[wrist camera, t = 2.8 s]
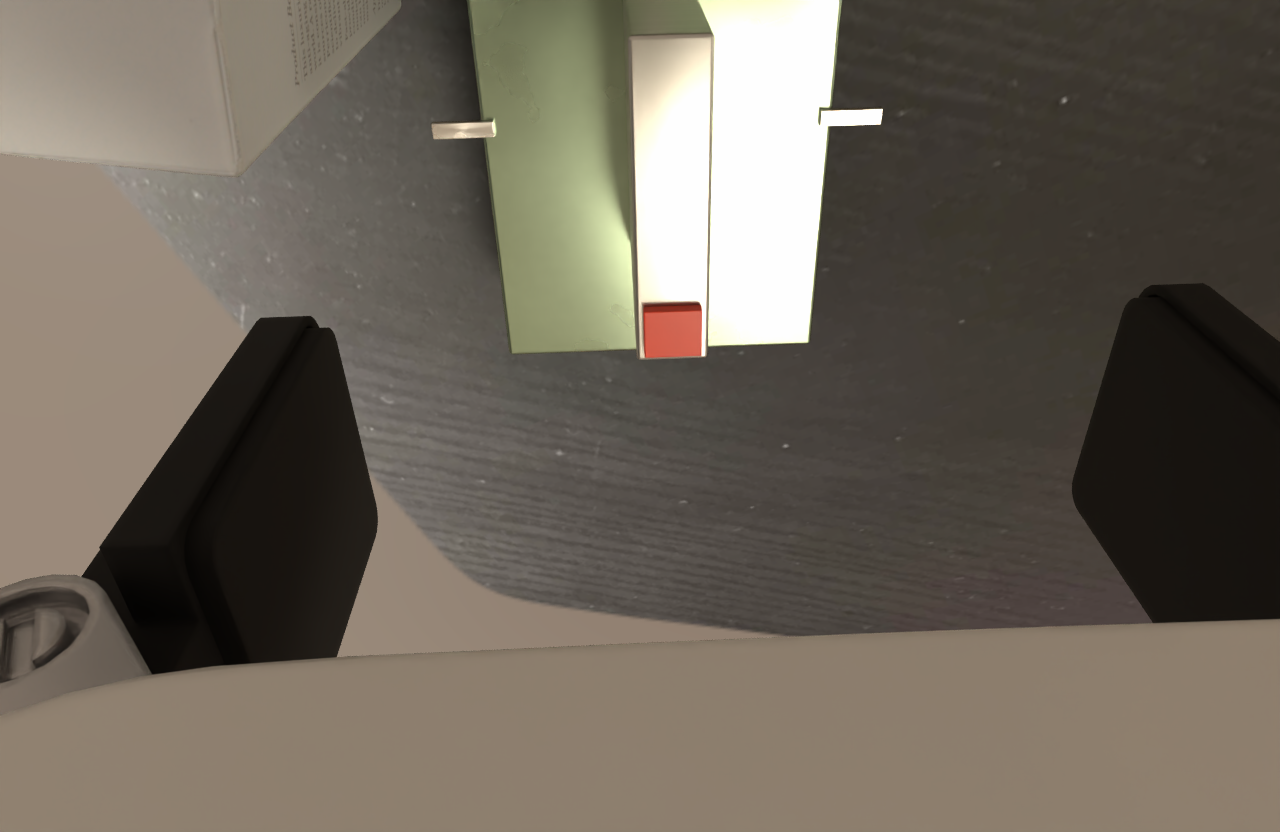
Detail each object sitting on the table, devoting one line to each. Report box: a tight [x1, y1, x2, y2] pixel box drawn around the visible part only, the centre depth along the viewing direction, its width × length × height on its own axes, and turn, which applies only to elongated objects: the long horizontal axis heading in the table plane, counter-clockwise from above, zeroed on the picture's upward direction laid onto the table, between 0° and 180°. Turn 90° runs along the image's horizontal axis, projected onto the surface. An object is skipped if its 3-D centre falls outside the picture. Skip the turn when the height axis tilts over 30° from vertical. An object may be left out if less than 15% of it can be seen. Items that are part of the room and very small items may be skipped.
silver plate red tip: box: [623, 0, 715, 360], centre depth 18 cm, size 6×1×6 cm, turn 1°
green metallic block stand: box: [431, 0, 883, 354], centre depth 22 cm, size 12×10×4 cm
